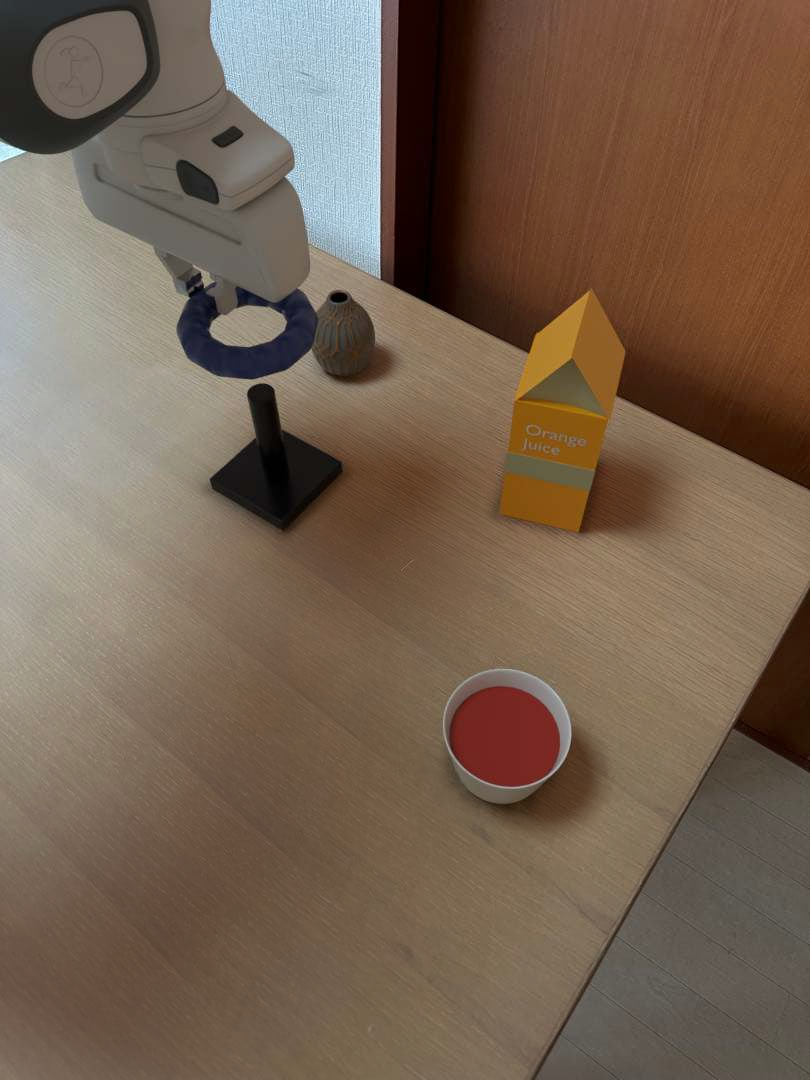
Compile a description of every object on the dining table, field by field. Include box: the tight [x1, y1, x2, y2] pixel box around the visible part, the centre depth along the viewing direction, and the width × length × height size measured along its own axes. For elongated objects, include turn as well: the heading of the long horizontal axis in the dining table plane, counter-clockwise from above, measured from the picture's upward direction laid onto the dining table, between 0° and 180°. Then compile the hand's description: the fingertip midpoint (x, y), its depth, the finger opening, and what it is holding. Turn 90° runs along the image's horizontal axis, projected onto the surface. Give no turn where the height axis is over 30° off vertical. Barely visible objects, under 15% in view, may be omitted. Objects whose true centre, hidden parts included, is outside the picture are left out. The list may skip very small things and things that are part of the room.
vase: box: [311, 289, 376, 377], centre depth 87 cm, size 7×7×9 cm
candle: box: [442, 668, 572, 805], centre depth 61 cm, size 9×9×6 cm
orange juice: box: [499, 287, 626, 533], centre depth 72 cm, size 8×9×20 cm
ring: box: [175, 281, 318, 381], centre depth 65 cm, size 11×11×2 cm
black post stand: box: [209, 382, 344, 532], centre depth 76 cm, size 9×9×12 cm
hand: (207, 300), depth 66 cm, fingers closed on ring, 2 cm apart
